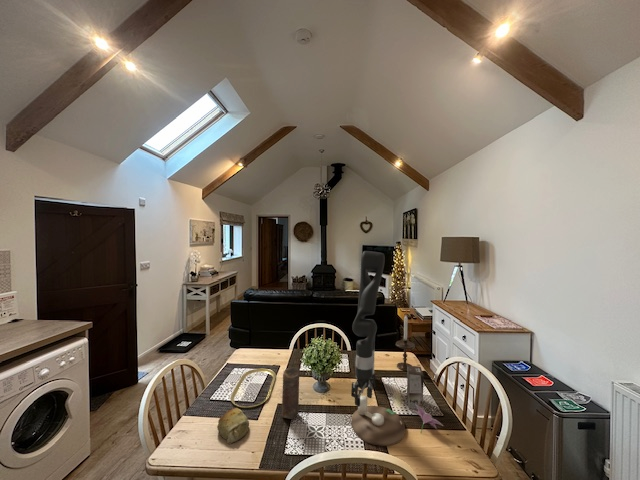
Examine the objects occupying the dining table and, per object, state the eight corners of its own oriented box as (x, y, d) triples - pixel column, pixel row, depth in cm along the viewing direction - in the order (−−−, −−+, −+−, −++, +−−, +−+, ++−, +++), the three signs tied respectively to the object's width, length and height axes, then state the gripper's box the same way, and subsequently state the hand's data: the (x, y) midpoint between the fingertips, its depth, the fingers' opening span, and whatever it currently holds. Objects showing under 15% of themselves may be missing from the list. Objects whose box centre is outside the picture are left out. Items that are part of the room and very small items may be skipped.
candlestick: (416, 372, 163) (418, 312, 162) (398, 371, 163) (399, 312, 162) (411, 363, 174) (412, 307, 172) (393, 363, 174) (394, 307, 173)
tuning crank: (386, 421, 118) (386, 406, 118) (379, 427, 115) (379, 412, 114) (362, 407, 127) (362, 393, 127) (355, 412, 124) (355, 398, 123)
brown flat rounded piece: (340, 424, 119) (340, 420, 118) (371, 402, 134) (371, 399, 134) (385, 455, 103) (385, 451, 103) (414, 426, 118) (414, 422, 118)
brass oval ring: (224, 409, 128) (224, 406, 128) (246, 370, 163) (246, 368, 163) (265, 410, 128) (265, 407, 128) (278, 371, 163) (278, 368, 163)
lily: (445, 443, 110) (449, 416, 114) (420, 435, 108) (424, 408, 112) (425, 432, 121) (429, 408, 125) (402, 425, 119) (407, 400, 123)
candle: (301, 412, 126) (301, 368, 125) (294, 423, 119) (295, 377, 118) (286, 408, 129) (286, 365, 128) (278, 418, 122) (278, 373, 121)
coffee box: (423, 410, 129) (424, 375, 128) (408, 408, 130) (409, 374, 129) (420, 398, 138) (421, 366, 137) (406, 396, 139) (407, 364, 138)
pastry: (224, 419, 122) (224, 401, 121) (252, 419, 121) (252, 401, 121) (210, 444, 107) (210, 423, 107) (243, 444, 107) (243, 424, 107)
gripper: (366, 357, 131) (366, 391, 131) (346, 367, 121) (346, 404, 121) (380, 362, 125) (380, 398, 126) (360, 373, 115) (360, 412, 116)
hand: (363, 401), depth 123 cm, fingers open, 8 cm apart
